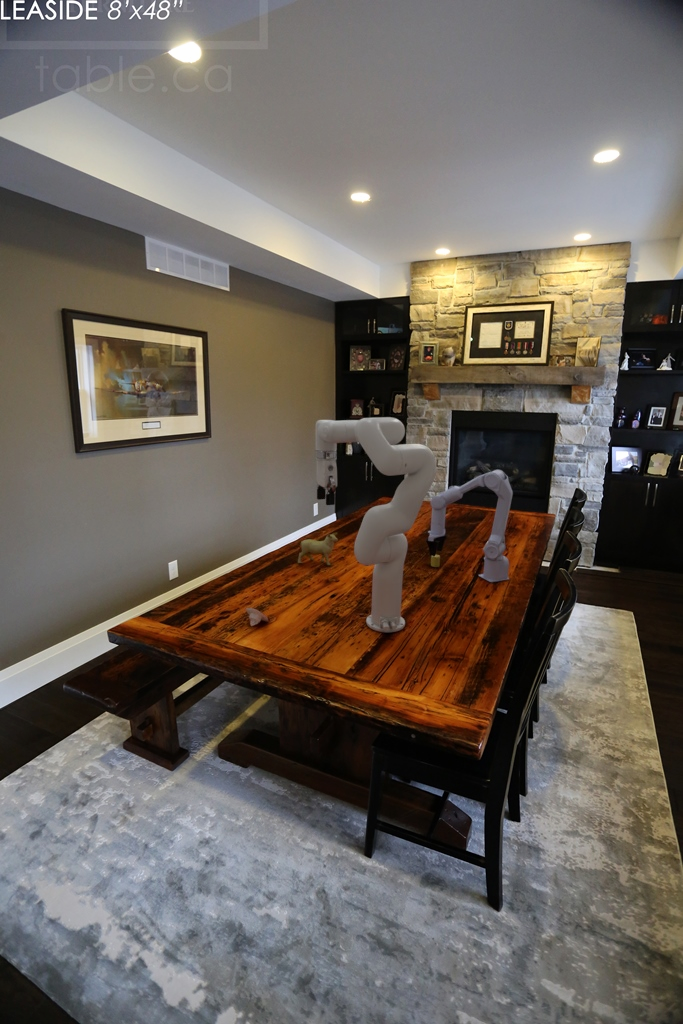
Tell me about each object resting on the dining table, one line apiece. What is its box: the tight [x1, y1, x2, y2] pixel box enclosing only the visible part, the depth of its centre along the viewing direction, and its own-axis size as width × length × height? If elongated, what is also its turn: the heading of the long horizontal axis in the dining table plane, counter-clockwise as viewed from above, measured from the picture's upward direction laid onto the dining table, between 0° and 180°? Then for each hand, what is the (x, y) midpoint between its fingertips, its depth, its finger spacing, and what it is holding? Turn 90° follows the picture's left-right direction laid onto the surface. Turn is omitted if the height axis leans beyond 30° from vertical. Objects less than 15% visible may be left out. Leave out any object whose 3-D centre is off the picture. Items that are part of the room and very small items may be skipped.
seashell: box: [245, 607, 269, 627], centre depth 160 cm, size 8×5×8 cm
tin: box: [430, 554, 441, 568], centre depth 217 cm, size 4×4×4 cm
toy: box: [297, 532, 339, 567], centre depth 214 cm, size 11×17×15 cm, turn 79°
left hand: (325, 502), depth 182 cm, fingers open, 9 cm apart
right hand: (435, 553), depth 215 cm, fingers open, 7 cm apart
